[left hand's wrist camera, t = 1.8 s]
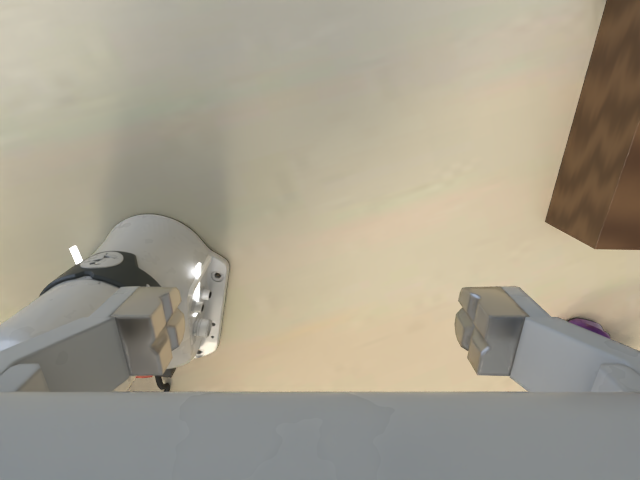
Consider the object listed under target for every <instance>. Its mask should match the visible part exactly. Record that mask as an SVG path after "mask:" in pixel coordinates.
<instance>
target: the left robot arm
mask: <svg viewBox="0 0 640 480" xmlns="http://www.w3.org/2000/svg"><path fill="white" fill-rule="evenodd" d="M70 251H71V253H72V256H73V258H74V260H75V262H76V265H75V266H73V267H72V268H70V269H69V270H68V271H66V272H65V273H63V274H62V275H61V276H59V277H58V278H57V279H55V280H54V281H53V282H51V283H50V284H49V285H48V286H47V287H46V288H44V290H43V291H42V292H41V294H40V296H39V297H38V298H37V299H35V300H34V301H33V302H31V303H30V304H28V305H27V306H26V307H24V308H23V309H21V310H20V311H18V312H17V313H16V314H14V315H13V316H11V317H10V318H9V319H7V320H6V321H4V322H3V323H2V324H0V480H640V351H638V350H636V349H633V348H631V347H628V346H626V345H623V344H621V343H619V342H616V341H614V340H611V339H609V338H607V337H604V336H602V335H599V334H597V333H594V332H592V331H590V330H587V329H585V328H582V327H580V326H577V325H575V324H573V323H570V322H568V321H565V320H563V319H561V318H558V317H551V316H550V315H549V314H548V313H547V312H545V311H544V310H543V309H542V308H541V307H540V306H539V305H538V304H537V303H536V302H535V301H534V300H533V299H531V298H530V297H529V296H528V295H527V294H526V293H525V292H524V291H523V290H522V289H521V288H520V287H516V286H505V287H465V288H462V289H461V292H460V295H459V300H458V301H459V303H460V304H461V306H462V309H461V310H460V311H459V312H458V313H457V314H456V318H455V334H456V337H457V340H458V342H459V344H460V346H461V347H462V348H464V349H466V350H467V351H468V356H467V358H468V360H469V362H470V363H471V365H472V367H473V368H474V370H475V372H476V374H477V375H492V376H510V378H511V379H513V380H514V381H515V382H517V383H518V384H519V385H521V386H522V387H523V388H525V389H526V390H527V391H528V392H169V390H170V385H169V384H168V383H166V384H163V382H162V379H161V377H172V375H173V373H174V371H175V369H176V367H180V366H183V365H185V364H187V363H189V362H190V361H191V360H193V359H194V358H199V357H203V356H206V355H208V354H211V353H212V352H214V351H216V349H217V348H218V346H219V342H220V335H221V327H222V320H223V312H224V305H225V297H226V290H227V282H228V275H229V263H228V261H227V260H226V259H225V258H223V257H222V256H220V255H219V254H217V253H215V252H213V251H211V250H210V249H209V248H208V247H207V246H206V245H205V244H204V242H203V241H202V240H201V239H200V238H199V237H198V236H197V234H195V233H194V232H193V231H192V230H191V229H190V228H188V227H187V226H185V225H184V224H182V223H180V222H178V221H176V220H174V219H171V218H169V217H165V216H161V215H154V214H143V215H137V216H133V217H130V218H127V219H125V220H123V221H122V222H120V223H119V224H117V225H116V226H115V227H114V228H113V229H112V230H111V232H110V233H109V235H108V236H107V238H106V239H105V241H104V242H103V243H102V244H101V245H100V247H99V248H98V249H97V250H96V251H95V252H94V253H93V254H92V255H91V256H90V257H89V258H87V259H85V260H82V258H81V256H80V254H79V251H78V249H77V247H76V246H73V247H72V248H70ZM216 273H220V274H221V276H218V275H216ZM199 350H201V351H199ZM152 376H155V378H156V382H157V385H158V387H159V388H160V389H165V390H164V392H127V391H128V389H129V388H130V386H131V384H132V382H133V381H134V379H135V378H148V377H152Z"/></svg>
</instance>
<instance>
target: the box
mask: <svg viewBox="0 0 640 480" xmlns="http://www.w3.org/2000/svg"><path fill="white" fill-rule="evenodd" d="M545 222H546V223H548V224H550V225H552V226H554V227H556V228H557V229H559V230H561V231H563V232H565V233H567V234H568V235H570V236H572V237H574V238H576V239H577V240H579V241H581V242H583V243H585V244H587V245H588V246H590V247H592V248H594V249H621V250H640V0H607V2H606V6H605V9H604V13H603V16H602V20H601V24H600V27H599V31H598V34H597V38H596V41H595V45H594V49H593V52H592V56H591V59H590V63H589V67H588V70H587V74H586V77H585V81H584V84H583V88H582V92H581V95H580V99H579V102H578V106H577V110H576V113H575V117H574V120H573V124H572V127H571V131H570V135H569V138H568V142H567V145H566V149H565V153H564V156H563V160H562V163H561V167H560V170H559V174H558V178H557V181H556V185H555V188H554V192H553V196H552V199H551V203H550V206H549V210H548V213H547V217H546V221H545Z"/></svg>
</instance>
